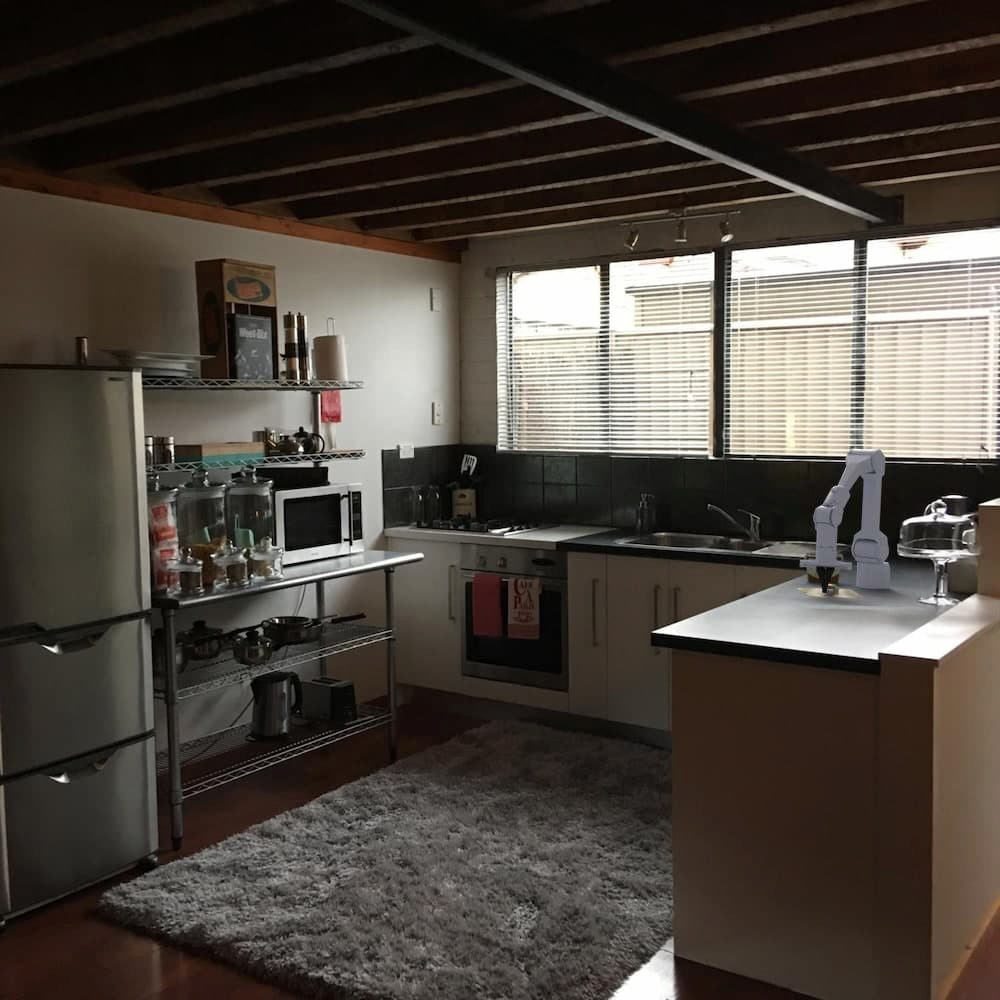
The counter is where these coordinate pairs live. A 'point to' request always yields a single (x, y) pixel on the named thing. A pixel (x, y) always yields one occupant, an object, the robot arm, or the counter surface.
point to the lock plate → (842, 594)
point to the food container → (811, 571)
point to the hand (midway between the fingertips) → (824, 592)
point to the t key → (832, 591)
